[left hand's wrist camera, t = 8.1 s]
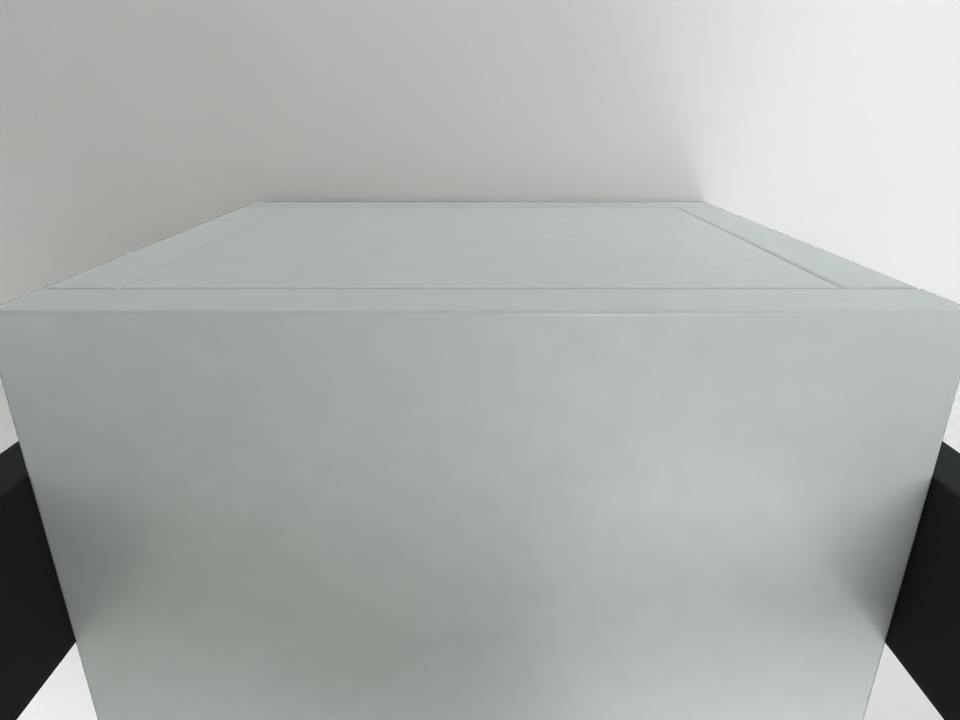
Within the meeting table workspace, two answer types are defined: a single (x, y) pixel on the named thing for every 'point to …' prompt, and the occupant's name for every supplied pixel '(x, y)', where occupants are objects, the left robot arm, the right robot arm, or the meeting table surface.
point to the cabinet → (480, 463)
